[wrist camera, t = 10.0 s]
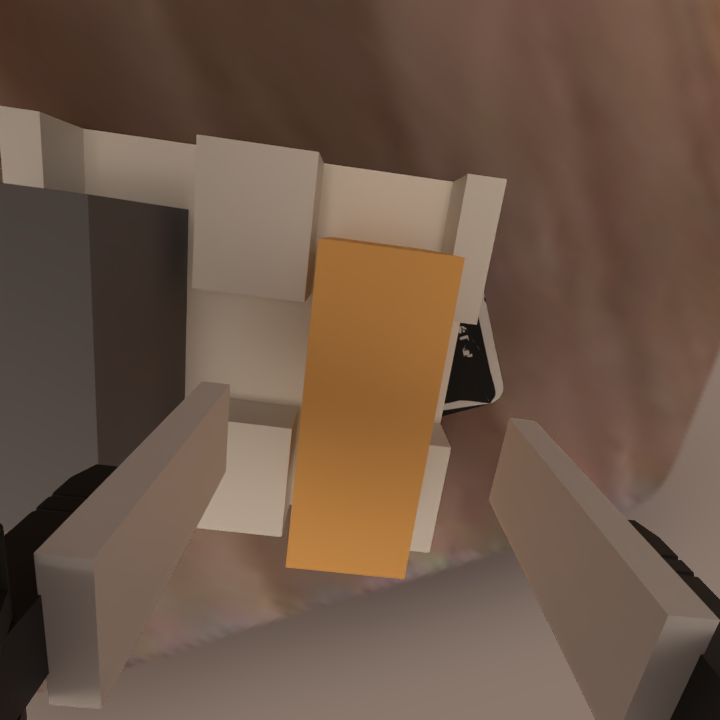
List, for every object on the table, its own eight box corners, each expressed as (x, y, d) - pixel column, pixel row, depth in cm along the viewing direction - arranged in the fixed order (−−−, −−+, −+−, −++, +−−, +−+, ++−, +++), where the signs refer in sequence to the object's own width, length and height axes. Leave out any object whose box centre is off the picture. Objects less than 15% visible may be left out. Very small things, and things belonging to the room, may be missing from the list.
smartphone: (201, 343, 23) (478, 263, 22) (209, 337, 25) (471, 262, 23) (250, 466, 25) (506, 399, 24) (256, 455, 27) (498, 390, 26)
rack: (60, 128, 20) (-4, 105, 17) (481, 189, 21) (506, 179, 18) (77, 470, 25) (30, 510, 22) (419, 508, 26) (429, 552, 22)
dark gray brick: (90, 196, 20) (-71, 173, 13) (188, 209, 21) (87, 194, 13) (99, 432, 24) (-26, 527, 16) (184, 441, 24) (101, 540, 16)
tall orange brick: (332, 237, 21) (318, 237, 13) (425, 249, 21) (465, 257, 13) (308, 461, 24) (285, 567, 16) (389, 470, 24) (404, 579, 17)
